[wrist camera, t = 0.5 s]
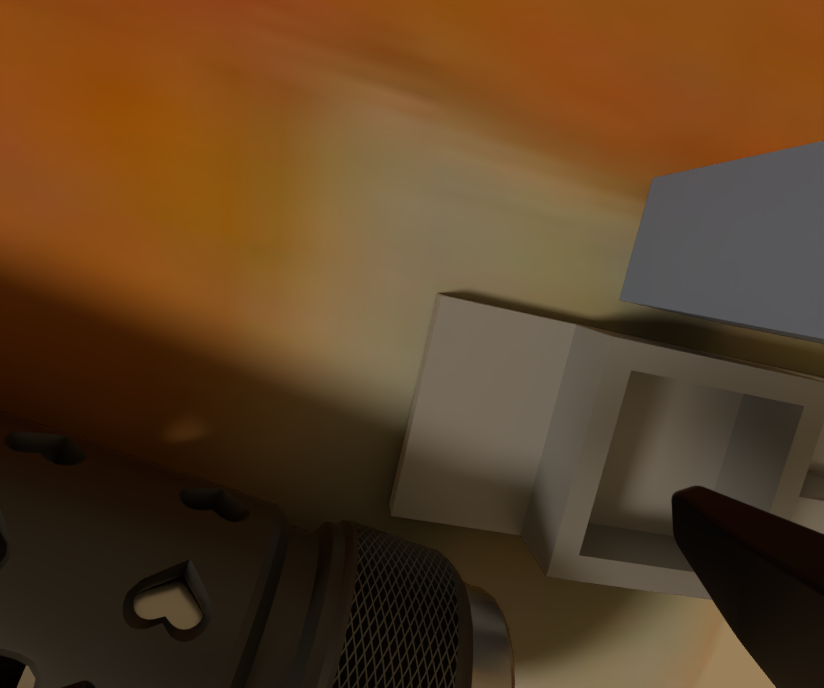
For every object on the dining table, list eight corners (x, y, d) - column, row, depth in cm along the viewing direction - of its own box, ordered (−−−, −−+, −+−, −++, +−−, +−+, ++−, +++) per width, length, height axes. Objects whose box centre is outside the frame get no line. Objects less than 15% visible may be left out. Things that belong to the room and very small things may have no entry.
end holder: (805, 568, 27) (886, 623, 23) (388, 504, 23) (399, 556, 20) (868, 387, 25) (964, 412, 22) (437, 293, 22) (458, 303, 18)
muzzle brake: (-260, 247, 19) (-933, 250, 9) (475, 513, 24) (572, 705, 14) (-333, 496, 20) (-1011, 750, 10) (387, 700, 25) (420, 1004, 15)
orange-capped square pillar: (725, 324, 24) (1158, 411, 11) (619, 299, 23) (957, 364, 11) (761, 207, 23) (1264, 160, 11) (652, 177, 23) (1057, 90, 10)
